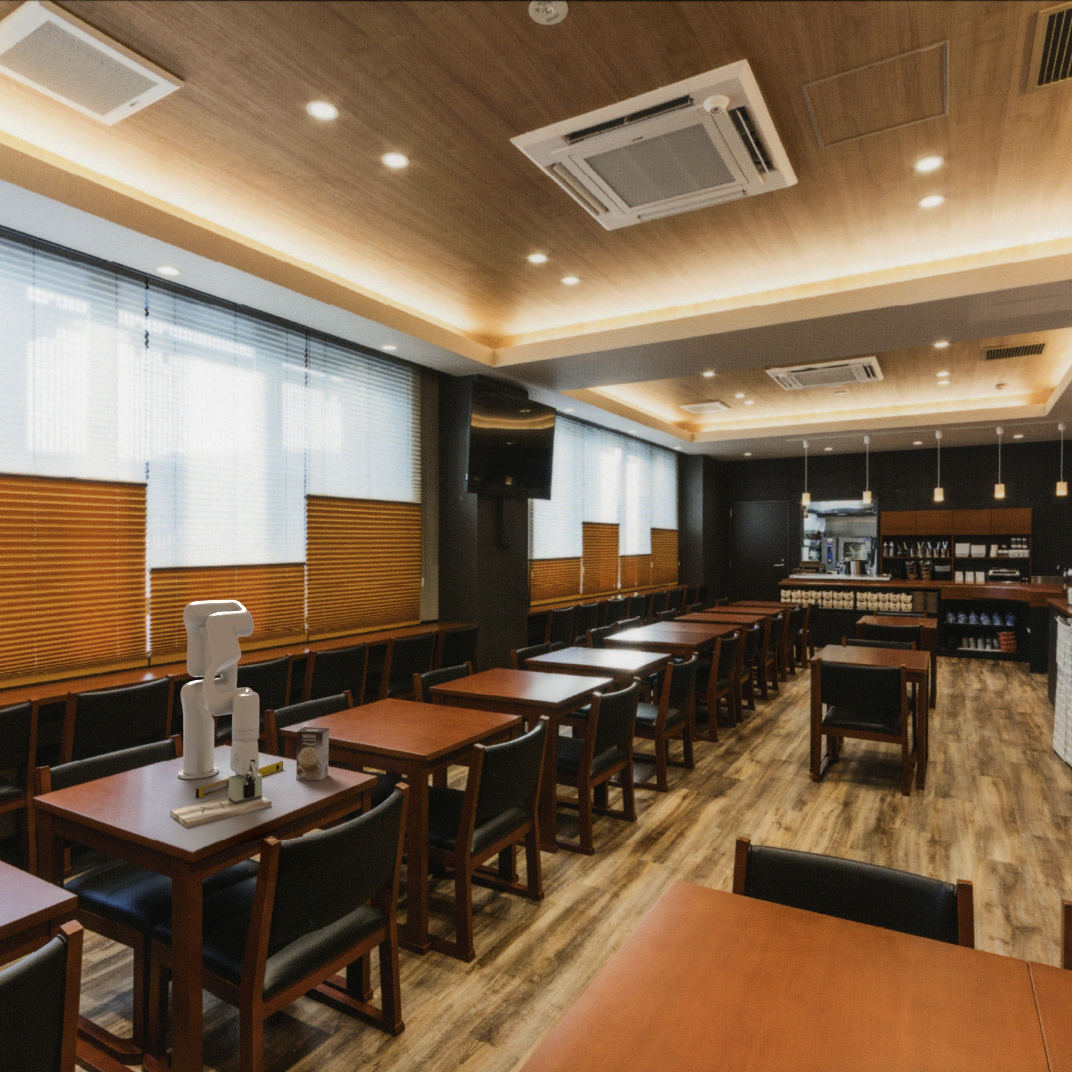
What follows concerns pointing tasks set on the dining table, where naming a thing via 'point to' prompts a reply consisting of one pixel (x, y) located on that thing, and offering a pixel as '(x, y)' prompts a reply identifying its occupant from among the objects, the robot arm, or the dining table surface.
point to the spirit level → (225, 783)
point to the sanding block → (238, 789)
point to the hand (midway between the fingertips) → (245, 794)
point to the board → (215, 810)
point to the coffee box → (312, 753)
